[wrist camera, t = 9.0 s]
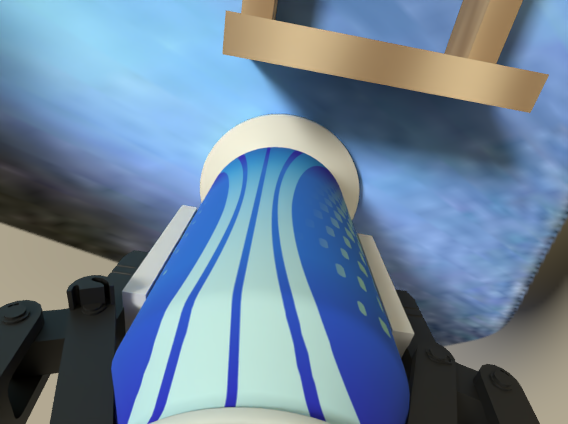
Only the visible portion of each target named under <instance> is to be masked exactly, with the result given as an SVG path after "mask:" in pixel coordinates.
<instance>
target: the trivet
mask: <svg viewBox="0 0 568 424" xmlns="http://www.w3.org/2000/svg"><path fill="white" fill-rule="evenodd" d="M266 147H284V148H290V149H294V150H298V151H301V152H303V153H306V154H308V155H310V156H311V157H313V158H315V159H316V160H318V161H319V162H320V163H322V164H323V165H324V166H325V167H326V168H327V169H328V170H329V171H330V172H331V173H332V175H333V176H334V178H335V179H336V181H337V183H338V184H339V187H340V189H341V192H342V195H343V197H344V200H345V203H346V206H347V209H348V211H349V214H350V217H351V220H353V217H354V215H355V212H356V210H357V205H358V201H359V179H358V175H357V170H356V168H355V165H354V162H353V160H352V158H351V156H350V155H349V153H348V151H347V149H346V148H345V147H344V145H343V144H342V142H341V141H340V140H339V139H338V138H337V137H336V136H335V135H334V134H333V133H331V132H330V131H329V130H328V129H326V128H325V127H323V126H322V125H320V124H318V123H316V122H314V121H312V120H309V119H307V118H304V117H300V116H296V115H290V114H267V115H261V116H257V117H254V118H251V119H248V120H246V121H244V122H242V123H240V124H238V125H236V126H235V127H233V128H232V129H230V130H229V131H228V132H227V133H226V134H224V135H223V136H222V137H221V139H220V140H219V141H218V142H217V143H216V144H215V146H214V147H213V148H212V150H211V152H210V153H209V155H208V157H207V159H206V161H205V163H204V166H203V170H202V173H201V180H200V196H201V203H202V202H203V200H204V198H205V197H206V195H207V193H208V192H209V190H210V188H211V186H212V185H213V183H214V181H215V179H216V178H217V176H218V175H219V173H220V172H221V171H222V170H223V169H224V168H225V167H226V166H227V165H228V164H229V163H230V162H231V161H233V160H234V159H236V158H237V157H239V156H241V155H243V154H245V153H247V152H250V151H252V150H256V149H260V148H266Z"/></svg>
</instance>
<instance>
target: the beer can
mask: <svg viewBox="0 0 568 424" xmlns="http://www.w3.org/2000/svg"><path fill="white" fill-rule="evenodd" d="M111 371H112V379H113V386H114V424H406V420H407V416H408V412H409V398H410V393H409V385H408V380H407V375H406V372H405V369H404V365H403V363H402V360H401V357H400V354H399V351H398V349H397V346H396V343H395V340H394V337H393V335H392V332H391V329H390V326H389V323H388V321H387V318H386V315H385V312H384V309H383V307H382V304H381V301H380V298H379V295H378V293H377V290H376V287H375V284H374V281H373V279H372V276H371V273H370V270H369V267H368V265H367V262H366V259H365V256H364V253H363V251H362V248H361V245H360V242H359V239H358V237H357V234H356V231H355V228H354V225H353V223H352V220H351V217H350V214H349V211H348V209H347V206H346V203H345V200H344V197H343V195H342V192H341V189H340V187H339V184H338V183H337V181H336V179H335V178H334V176H333V175H332V173H331V172H330V171H329V170H328V169H327V168H326V167H325V166H324V165H323V164H322V163H320V162H319V161H318V160H316V159H315V158H313V157H311V156H310V155H308V154H306V153H303V152H301V151H298V150H294V149H290V148H284V147H266V148H260V149H256V150H252V151H250V152H247V153H245V154H243V155H241V156H239V157H237V158H236V159H234V160H233V161H231V162H230V163H229V164H228V165H227V166H226V167H225V168H224V169H223V170H222V171H221V172H220V173H219V175H218V176H217V178H216V179H215V181H214V183H213V185H212V186H211V188H210V190H209V192H208V193H207V195H206V197H205V198H204V200H203V202H202V204H201V205H200V207H199V209H198V211H197V212H196V214H195V216H194V217H193V219H192V221H191V223H190V224H189V226H188V228H187V230H186V231H185V233H184V235H183V236H182V238H181V240H180V242H179V243H178V245H177V247H176V248H175V250H174V252H173V254H172V255H171V257H170V259H169V261H168V262H167V264H166V266H165V267H164V269H163V271H162V273H161V274H160V276H159V278H158V280H157V281H156V283H155V285H154V286H153V288H152V290H151V292H150V293H149V295H148V297H147V299H146V300H145V302H144V304H143V305H142V307H141V309H140V311H139V312H138V314H137V316H136V318H135V319H134V321H133V323H132V324H131V326H130V328H129V330H128V331H127V333H126V335H125V336H124V338H123V340H122V342H121V343H120V345H119V347H118V349H117V351H116V353H115V356H114V358H113V360H112V367H111Z"/></svg>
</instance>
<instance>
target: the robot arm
mask: <svg viewBox="0 0 568 424" xmlns="http://www.w3.org/2000/svg"><path fill="white" fill-rule="evenodd" d="M196 212H197V207H191V206H185V205H182V206H181V208H180V209H179V210H178V212H177V213H176V215H175V216H174V218H173V219H172V220H171V222H170V223H169V225H168V226H167V228H166V229H165V230H164V232H163V233H162V235H161V236H160V238H159V239H158V240H157V242H156V243H155V245H154V246H153V248H152V249H151V250H150V252H149V253H147V252H141V251H132V252H131V253H129V254H127V255H126V256H124V257H123V258H122V259H121V261H120V262H119V263H118V264H117V266H116V267H115V268H114V269H113V270H112V273H110V274H109V275H108V277H105V276H101V275H92V276H87V277H83V278H81V279H78V280H76V281H75V282H74V283H72V284H71V285H70V286H69V287H68V289H67V297H68V303H69V308H68V309H62V310H52V311H42V308H41V305H40V304H38V303H37V302H35V301H30V300H23V301H16V302H12V303H9V304H6V305H4V306H2V307H1V308H0V424H26V422H27V419H28V417H29V416H30V414H31V411H32V409H33V408H34V406H35V404H36V402H37V400H38V398H39V396H40V394H41V392H42V390H43V388H44V386H45V384H46V382H47V380H48V378H49V376H50V374H53V373H59V374H58V380H57V385H56V391H55V397H54V402H53V408H52V414H51V420H50V424H114V386H113V379H112V371H111V367H112V360H113V358H114V356H115V353H116V351H117V349H118V347H119V345H120V343H121V342H122V340H123V338H124V336H125V335H126V333H127V331H128V330H129V328H130V326H131V324H132V323H133V321H134V319H135V318H136V316H137V314H138V312H139V311H140V309H141V307H142V305H143V304H144V302H145V300H146V299H147V297H148V295H149V293H150V292H151V290H152V288H153V286H154V285H155V283H156V281H157V280H158V278H159V276H160V274H161V273H162V271H163V269H164V267H165V266H166V264H167V262H168V261H169V259H170V257H171V255H172V254H173V252H174V250H175V248H176V247H177V245H178V243H179V242H180V240H181V238H182V236H183V235H184V233H185V231H186V230H187V228H188V226H189V224H190V223H191V221H192V219H193V217H194V216H195V214H196ZM357 237H358V239H359V242H360V245H361V248H362V251H363V253H364V256H365V259H366V262H367V265H368V267H369V270H370V273H371V276H372V279H373V281H374V284H375V287H376V290H377V293H378V295H379V298H380V301H381V304H382V307H383V309H384V312H385V315H386V318H387V321H388V323H389V326H390V329H391V332H392V335H393V337H394V340H395V343H396V346H397V349H398V351H399V354H400V357H401V360H402V363H403V365H404V369H405V372H406V375H407V380H408V385H409V393H410V398H409V412H408V416H407V420H406V424H540V423H539V421H538V419H537V417H536V415H535V413H534V411H533V409H532V407H531V405H530V403H529V401H528V399H527V397H526V395H525V393H524V391H523V389H522V387H521V386H520V385H519V383H518V381H517V380H516V379H515V378H514V377H513V376H512V375H510V373H508V372H507V371H505V370H504V369H502V368H500V367H497V366H495V365H490V364H486V365H482V367H481V368H480V370H479V371H476V370H473V369H471V368H468V367H466V366H463V365H461V364H458V363H456V362H455V359H454V358H453V356H452V355H451V353H450V352H449V351H448V350H447V349H446V348H444V347H443V346H441V345H439V344H438V343H436V342H435V340H434V338H433V336H432V334H431V332H430V330H429V328H428V326H427V324H426V322H425V320H424V318H423V316H422V314H421V312H420V310H419V308H418V306H417V304H416V302H415V300H414V299H413V298H412V297H411V296H410V295H409V294H408V293H407V291H401V290H395V288H394V286H393V283H392V281H391V279H390V276H389V274H388V272H387V270H386V267H385V265H384V263H383V260H382V258H381V256H380V253H379V251H378V249H377V247H376V244H375V242H374V240H373V237H372V236H370V235H364V234H357Z"/></svg>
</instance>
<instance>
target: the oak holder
mask: <svg viewBox="0 0 568 424" xmlns="http://www.w3.org/2000/svg"><path fill="white" fill-rule="evenodd" d="M522 1H523V0H463V2H462V5H461V8H460V11H459V14H458V17H457V19H456V22H455V25H454V28H453V31H452V33H451V36H450V39H449V42H448V45H447V48H446V50H445V53H444V54H442V53H437V52H432V51H427V50H422V49H417V48H412V47H407V46H402V45H397V44H392V43H387V42H382V41H377V40H372V39H367V38H362V37H357V36H352V35H347V34H342V33H337V32H332V31H327V30H322V29H316V28H311V27H306V26H301V25H296V24H291V23H286V22H281V21H276V20H275V18H276V11H277V4H278V0H243V1H242V11H241V13H236V12H231V11H226V16H225V29H224V41H223V54H225V55H230V56H236V57H241V58H246V59H251V60H257V61H262V62H267V63H272V64H278V65H283V66H288V67H293V68H298V69H304V70H309V71H314V72H319V73H325V74H330V75H335V76H340V77H346V78H351V79H356V80H361V81H367V82H372V83H377V84H382V85H388V86H393V87H398V88H403V89H408V90H414V91H419V92H424V93H429V94H435V95H440V96H445V97H450V98H456V99H461V100H466V101H471V102H477V103H482V104H487V105H492V106H498V107H503V108H508V109H513V110H518V111H524V112H529V113H530V112H531V110H532V108H533V106H534V104H535V102H536V100H537V98H538V96H539V94H540V92H541V90H542V88H543V86H544V84H545V82H546V80H547V78H548V76H549V75H548V74H543V73H538V72H533V71H528V70H523V69H518V68H513V67H508V66H503V65H498V64H496V63H497V61H498V58H499V56H500V53H501V51H502V49H503V46H504V44H505V42H506V39H507V37H508V35H509V32H510V30H511V27H512V25H513V23H514V20H515V18H516V16H517V13H518V11H519V8H520V6H521V4H522Z"/></svg>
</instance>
